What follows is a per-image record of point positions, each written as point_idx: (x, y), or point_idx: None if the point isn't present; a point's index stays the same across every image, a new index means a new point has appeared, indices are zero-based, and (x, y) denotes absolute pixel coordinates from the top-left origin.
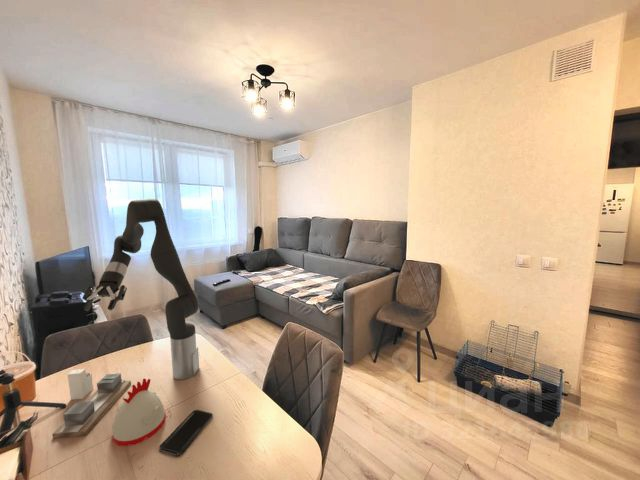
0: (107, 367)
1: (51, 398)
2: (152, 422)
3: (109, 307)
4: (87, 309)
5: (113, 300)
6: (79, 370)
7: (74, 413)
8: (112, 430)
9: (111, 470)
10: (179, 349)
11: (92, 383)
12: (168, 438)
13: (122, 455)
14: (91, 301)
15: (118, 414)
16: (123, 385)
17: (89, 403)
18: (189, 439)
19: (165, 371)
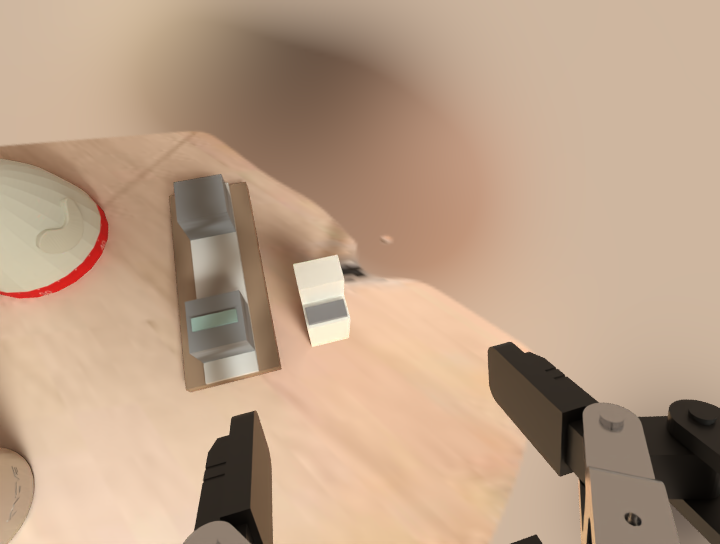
0: (381, 476)
1: (403, 291)
2: None
3: (231, 420)
4: (493, 372)
5: (218, 528)
6: (314, 279)
7: (192, 179)
8: (85, 193)
9: (47, 148)
10: None
11: (310, 340)
12: None
13: None
14: (570, 455)
15: (33, 167)
16: (194, 359)
17: (182, 213)
18: None
19: (85, 497)
